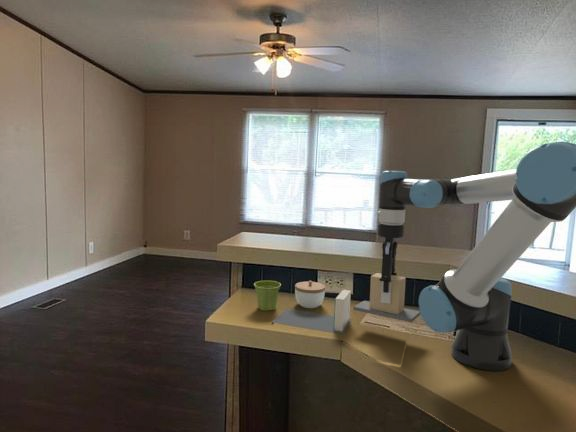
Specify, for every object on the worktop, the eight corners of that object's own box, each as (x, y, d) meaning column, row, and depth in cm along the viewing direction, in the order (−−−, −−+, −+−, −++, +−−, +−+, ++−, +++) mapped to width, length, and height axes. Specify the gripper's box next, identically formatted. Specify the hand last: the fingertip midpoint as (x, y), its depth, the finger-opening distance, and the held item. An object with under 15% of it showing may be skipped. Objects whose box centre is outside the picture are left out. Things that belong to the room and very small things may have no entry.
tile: (349, 320, 145) (350, 290, 144) (342, 331, 136) (344, 299, 135) (340, 319, 146) (342, 289, 145) (333, 330, 137) (334, 298, 136)
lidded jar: (325, 312, 154) (326, 286, 153) (294, 311, 154) (295, 284, 153) (323, 302, 165) (324, 277, 163) (294, 301, 165) (295, 276, 163)
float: (420, 314, 134) (422, 278, 133) (411, 322, 127) (413, 284, 126) (363, 303, 144) (365, 269, 142) (353, 309, 137) (355, 274, 136)
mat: (352, 320, 147) (352, 318, 147) (343, 336, 134) (343, 334, 134) (286, 310, 155) (286, 308, 155) (271, 324, 142) (271, 322, 142)
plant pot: (249, 310, 153) (249, 286, 152) (258, 302, 162) (259, 279, 161) (275, 314, 150) (276, 289, 149) (283, 305, 159) (284, 282, 158)
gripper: (382, 219, 142) (378, 290, 145) (373, 226, 125) (369, 306, 128) (407, 220, 140) (402, 292, 143) (400, 228, 122) (396, 310, 125)
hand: (386, 299), depth 135 cm, fingers closed on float, 6 cm apart
